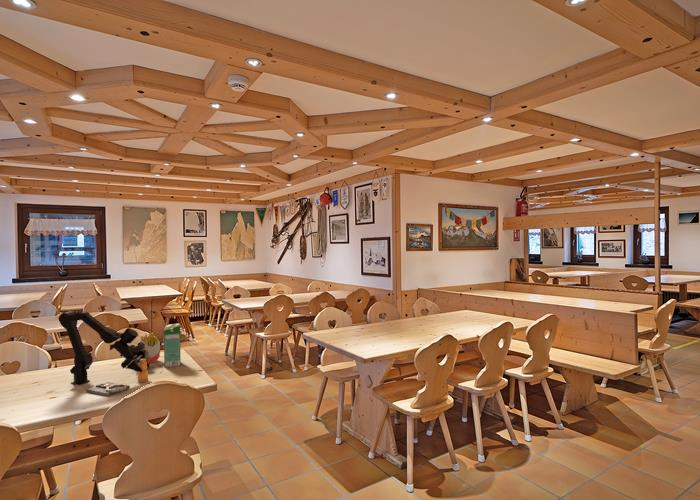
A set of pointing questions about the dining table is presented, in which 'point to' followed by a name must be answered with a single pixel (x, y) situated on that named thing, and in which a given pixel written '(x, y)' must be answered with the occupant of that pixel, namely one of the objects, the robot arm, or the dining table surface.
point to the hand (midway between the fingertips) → (145, 368)
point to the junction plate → (108, 389)
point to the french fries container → (151, 347)
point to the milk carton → (172, 345)
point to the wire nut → (144, 374)
